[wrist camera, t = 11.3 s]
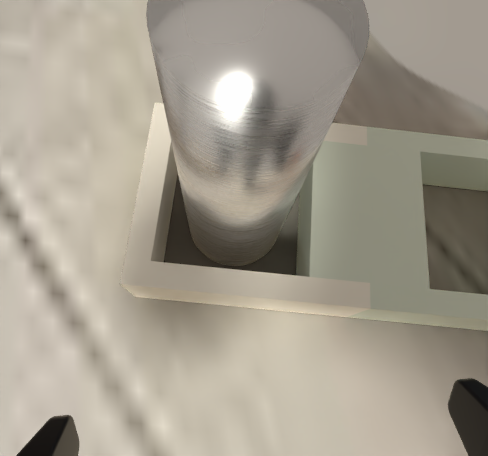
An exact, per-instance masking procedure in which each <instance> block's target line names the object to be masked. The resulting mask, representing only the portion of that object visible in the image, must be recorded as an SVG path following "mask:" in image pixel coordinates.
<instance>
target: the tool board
mask: <svg viewBox="0 0 488 456" xmlns="http://www.w3.org/2000/svg"><path fill="white" fill-rule="evenodd" d="M177 175H178V171H177V166H176V161H175V157H174V152H173V147H172V142H171V137H170V133H169V128H168V123H167V118H166V113H165V109H164V104H163V103H155V104H154V110H153V115H152V120H151V125H150V130H149V135H148V140H147V145H146V151H145V156H144V161H143V166H142V171H141V176H140V181H139V187H138V192H137V197H136V202H135V207H134V212H133V217H132V223H131V228H130V233H129V238H128V243H127V248H126V253H125V259H124V264H123V269H122V274H121V279H120V285H121V286H123V287H124V288H125V289H126V290H127V291H129V292H130V293H131V294H132V295H134V296H135V297H142V298H152V299H162V300H173V301H183V302H193V303H204V304H214V305H224V306H235V307H245V308H255V309H266V310H276V311H286V312H297V313H307V314H317V315H328V316H338V317H348V318H359V319H369V320H379V321H390V322H400V323H410V324H421V325H431V326H441V327H452V328H462V329H472V330H483V331H488V295H486V294H476V293H466V292H456V291H446V290H436V289H430V283H429V269H428V255H427V241H426V227H425V214H424V200H423V186H422V184H424V185H433V186H442V187H452V188H461V189H470V190H479V191H488V140H483V139H474V138H465V137H456V136H447V135H439V134H430V133H421V132H412V131H403V130H394V129H385V128H376V127H368V126H359V125H350V124H341V123H332V124H331V126H330V128H329V130H328V132H327V134H326V136H325V139H324V141H323V143H322V145H321V147H320V149H319V151H318V153H317V155H316V158H315V160H314V162H313V164H312V166H311V168H310V170H309V172H308V174H307V176H306V179H305V181H304V183H303V185H302V187H301V189H300V191H299V214H298V237H297V260H296V275H286V274H276V273H266V272H256V271H246V270H236V269H226V268H216V267H206V266H196V265H186V264H176V263H166V262H164V256H165V250H166V244H167V237H168V231H169V225H170V219H171V212H172V206H173V200H174V194H175V187H176V181H177Z"/></svg>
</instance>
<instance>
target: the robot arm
mask: <svg viewBox="0 0 488 456" xmlns="http://www.w3.org/2000/svg"><path fill="white" fill-rule="evenodd" d="M448 409H449V413H450V415H451V418H452V420H453V422H454V424H455V426H456V429H457V431H458V433H459V435H460V438H461V440H462V442H463V444H464V447H465V449H466V451H467V453H468V456H488V387H486V386H485V385H483V384H482V383H480V382H479V381H477V380H475V379H459V380H457V381H455V383H454V385H453V389H452V392H451V395H450V399H449V402H448ZM78 452H79V438H78V434H77V431H76V427H75V424H74V420H73V418H72V417H71V416H70V415H64V416H54V417H52V418H50V419H49V420H48V421H47V422H46V423H45V424H44V426H43V427H42V428H41V429H40V430H39V431H38V432H37V433H36V434H35V436H34V437H33V438H32V439H31V440H30V441H29V442H28V443H27V444H26V445H25V447H24V448H23V449H22V450H21V451H20V452H19V453H18V454H17V455H16V456H78Z"/></svg>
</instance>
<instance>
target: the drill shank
mask: <svg viewBox="0 0 488 456" xmlns="http://www.w3.org/2000/svg"><path fill="white" fill-rule="evenodd" d="M146 16H147V27H148V32H149V37H150V41H151V46H152V51H153V56H154V61H155V65H156V70H157V75H158V80H159V85H160V89H161V94H162V99H163V104H164V109H165V113H166V118H167V123H168V128H169V133H170V137H171V142H172V147H173V152H174V157H175V161H176V166H177V171H178V176H179V181H180V185H181V190H182V195H183V200H184V205H185V209H186V214H187V219H188V224H189V229H190V233H191V236H192V239H193V241H194V243H195V245H196V246H197V247H198V249H199V250H200V251H201V252H202V253H203V254H204V255H205V256H206V257H208V258H209V259H211V260H213V261H215V262H217V263H220V264H223V265H228V266H242V265H247V264H250V263H253V262H255V261H257V260H259V259H261V258H262V257H263V256H265V255H266V254H267V253H268V252H269V251H270V249H271V248H272V247H273V245H274V243H275V242H276V240H277V238H278V235H279V233H280V231H281V229H282V227H283V225H284V223H285V221H286V219H287V216H288V214H289V212H290V210H291V208H292V206H293V204H294V202H295V200H296V198H297V195H298V193H299V191H300V189H301V187H302V185H303V183H304V181H305V179H306V176H307V174H308V172H309V170H310V168H311V166H312V164H313V162H314V160H315V158H316V155H317V153H318V151H319V149H320V147H321V145H322V143H323V141H324V139H325V136H326V134H327V132H328V130H329V128H330V126H331V124H332V122H333V120H334V117H335V115H336V113H337V111H338V109H339V107H340V105H341V103H342V101H343V99H344V96H345V94H346V92H347V90H348V88H349V86H350V84H351V82H352V80H353V77H354V75H355V73H356V71H357V69H358V67H359V65H360V63H361V61H362V59H363V56H364V53H365V51H366V48H367V44H368V39H369V20H368V13H367V10H366V7H365V4H364V1H363V0H148V3H147V14H146Z"/></svg>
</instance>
